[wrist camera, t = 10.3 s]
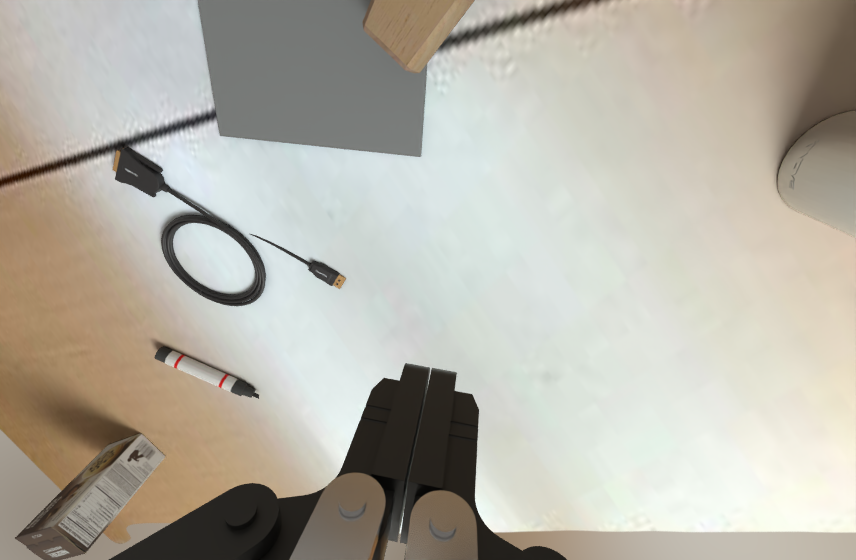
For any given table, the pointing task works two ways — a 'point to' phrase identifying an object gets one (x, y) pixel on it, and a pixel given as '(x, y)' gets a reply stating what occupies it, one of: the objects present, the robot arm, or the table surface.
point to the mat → (309, 76)
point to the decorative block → (412, 27)
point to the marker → (204, 372)
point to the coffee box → (91, 500)
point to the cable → (151, 181)
